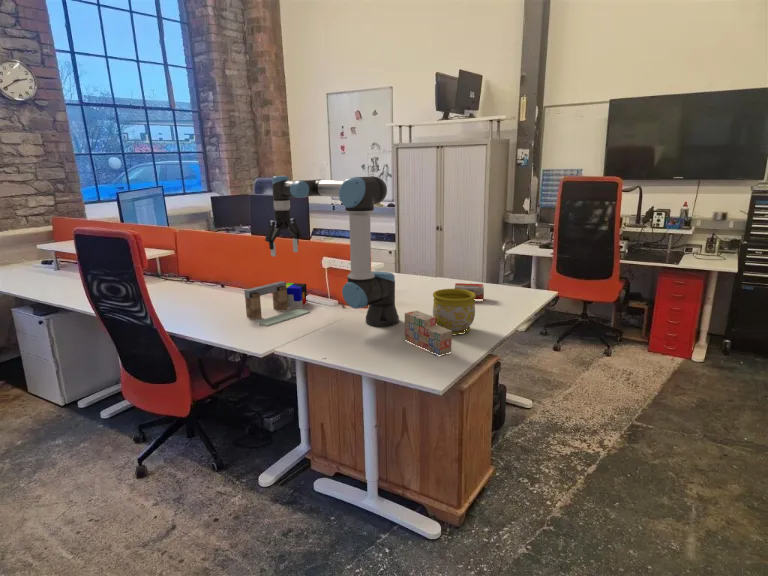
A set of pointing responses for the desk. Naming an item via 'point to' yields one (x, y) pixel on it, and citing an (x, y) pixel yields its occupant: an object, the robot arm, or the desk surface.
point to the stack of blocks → (427, 333)
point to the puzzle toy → (296, 294)
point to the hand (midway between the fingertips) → (284, 254)
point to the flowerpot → (454, 309)
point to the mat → (282, 317)
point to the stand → (255, 306)
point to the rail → (264, 289)
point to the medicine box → (472, 289)
